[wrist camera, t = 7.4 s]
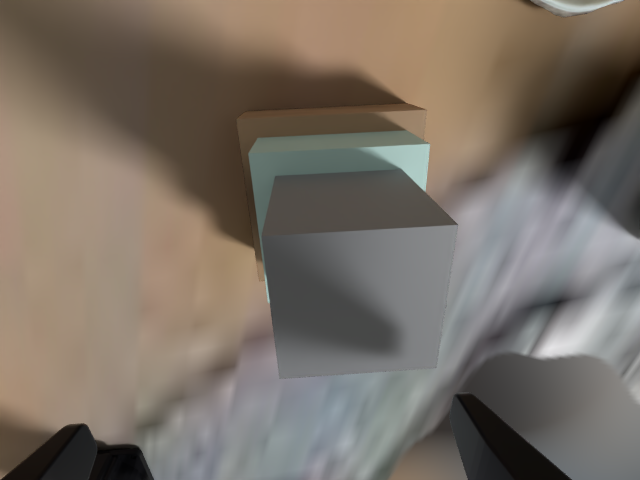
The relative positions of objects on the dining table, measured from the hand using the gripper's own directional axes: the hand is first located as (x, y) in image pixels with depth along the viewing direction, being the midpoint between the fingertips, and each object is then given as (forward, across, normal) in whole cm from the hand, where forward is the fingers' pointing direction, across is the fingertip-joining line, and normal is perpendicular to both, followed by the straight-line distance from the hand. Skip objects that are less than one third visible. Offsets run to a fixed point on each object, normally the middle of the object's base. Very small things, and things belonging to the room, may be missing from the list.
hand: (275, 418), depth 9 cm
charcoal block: (+6, -2, -2) cm, 7 cm away
